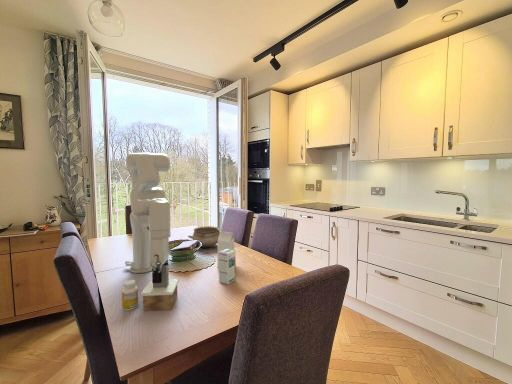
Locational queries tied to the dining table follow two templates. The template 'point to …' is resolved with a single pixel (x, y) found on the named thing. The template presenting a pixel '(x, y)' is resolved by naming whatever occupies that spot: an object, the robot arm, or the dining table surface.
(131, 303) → the supplement bottle
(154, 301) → the box
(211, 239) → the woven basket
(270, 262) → the dining table surface
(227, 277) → the syrup box
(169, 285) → the lid
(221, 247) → the milk carton
